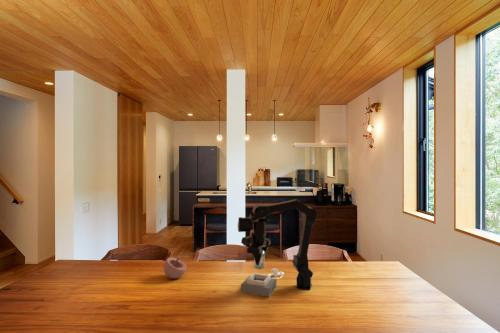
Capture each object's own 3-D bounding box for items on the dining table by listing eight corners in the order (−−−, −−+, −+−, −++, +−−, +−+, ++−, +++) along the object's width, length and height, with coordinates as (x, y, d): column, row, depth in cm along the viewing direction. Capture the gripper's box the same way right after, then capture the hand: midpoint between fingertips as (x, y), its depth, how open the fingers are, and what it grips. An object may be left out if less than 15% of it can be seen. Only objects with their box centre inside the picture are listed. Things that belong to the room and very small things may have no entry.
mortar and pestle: (183, 282, 159) (183, 260, 158) (160, 282, 159) (160, 260, 159) (188, 273, 171) (188, 253, 170) (167, 273, 171) (167, 253, 171)
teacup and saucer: (283, 274, 171) (283, 267, 170) (284, 279, 163) (284, 272, 163) (268, 273, 171) (268, 266, 171) (267, 279, 163) (267, 271, 163)
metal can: (265, 266, 151) (265, 250, 150) (262, 269, 146) (262, 252, 146) (256, 265, 152) (256, 249, 152) (252, 268, 148) (252, 251, 147)
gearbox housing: (276, 286, 153) (276, 274, 152) (269, 297, 141) (269, 284, 141) (249, 283, 157) (249, 271, 157) (241, 292, 146) (241, 280, 146)
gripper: (250, 226, 160) (250, 255, 161) (236, 234, 143) (236, 267, 143) (270, 227, 156) (270, 258, 157) (259, 236, 139) (259, 270, 139)
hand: (259, 263), depth 149 cm, fingers closed on metal can, 5 cm apart
